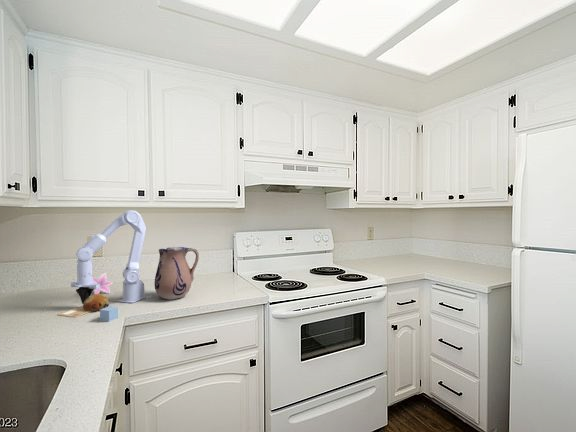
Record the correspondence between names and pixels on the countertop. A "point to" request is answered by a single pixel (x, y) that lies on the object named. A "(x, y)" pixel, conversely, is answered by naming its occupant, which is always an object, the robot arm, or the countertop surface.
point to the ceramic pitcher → (174, 272)
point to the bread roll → (96, 302)
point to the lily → (102, 283)
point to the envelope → (74, 312)
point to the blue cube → (108, 314)
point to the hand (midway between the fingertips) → (85, 303)
